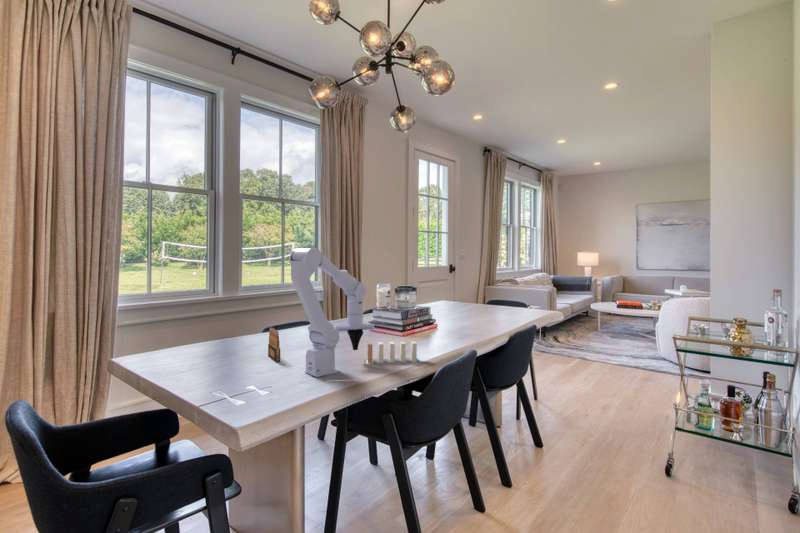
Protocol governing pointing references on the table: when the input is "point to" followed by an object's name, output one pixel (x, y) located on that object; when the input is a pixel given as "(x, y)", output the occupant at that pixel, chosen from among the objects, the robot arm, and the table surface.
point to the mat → (386, 361)
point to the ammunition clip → (274, 345)
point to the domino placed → (369, 352)
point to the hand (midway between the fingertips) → (355, 349)
